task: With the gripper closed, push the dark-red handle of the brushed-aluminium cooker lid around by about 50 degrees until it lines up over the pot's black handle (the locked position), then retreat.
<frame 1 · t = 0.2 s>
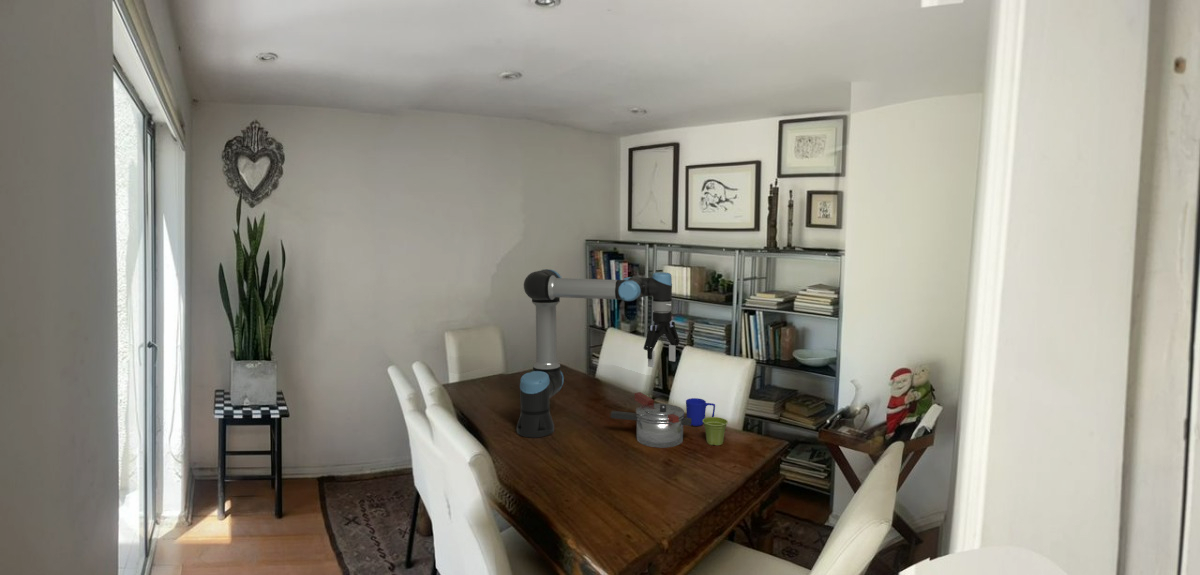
hand: (661, 363, 231), 28 cm above the table, fingers open, 13 cm apart
plant pot: (714, 443, 221), on the table
mug: (700, 424, 241), on the table
lid: (655, 405, 227), point 12 cm above the table, hinge at 50.0°
pot: (659, 438, 225), on the table
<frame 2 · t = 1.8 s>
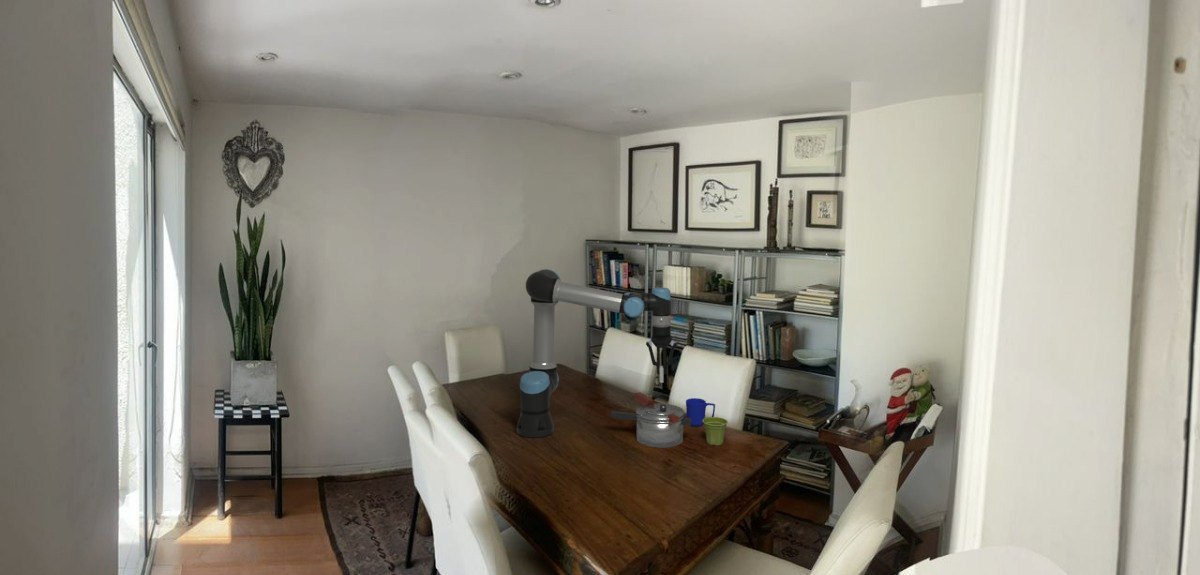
hand: (661, 381, 238), 19 cm above the table, fingers closed
nothing on the table moved.
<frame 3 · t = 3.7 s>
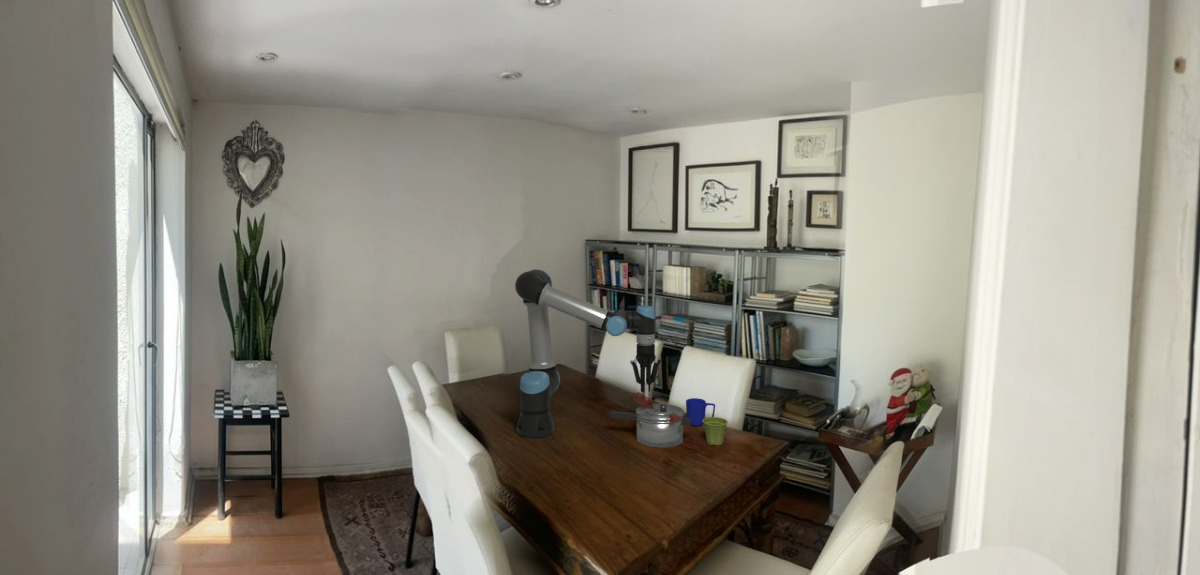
hand: (645, 399, 239), 11 cm above the table, fingers closed
lid: (655, 405, 227), point 12 cm above the table, hinge at 47.9°, touching gripper
everything else where it was.
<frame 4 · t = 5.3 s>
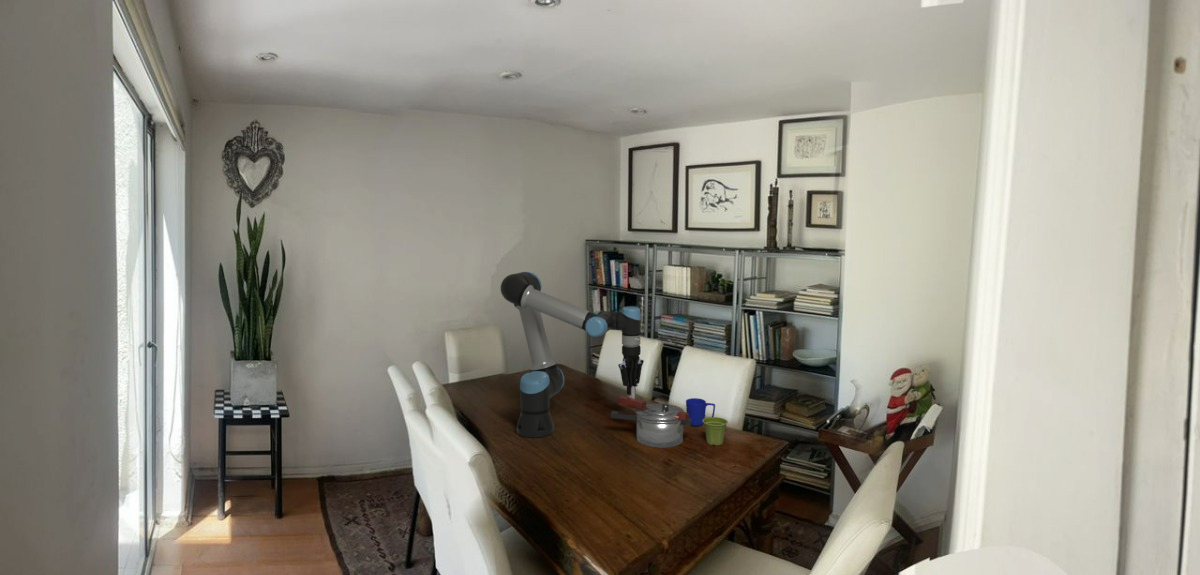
hand: (631, 401, 235), 11 cm above the table, fingers closed
lid: (652, 406, 226), point 12 cm above the table, hinge at 22.0°, touching gripper
everything else where it was.
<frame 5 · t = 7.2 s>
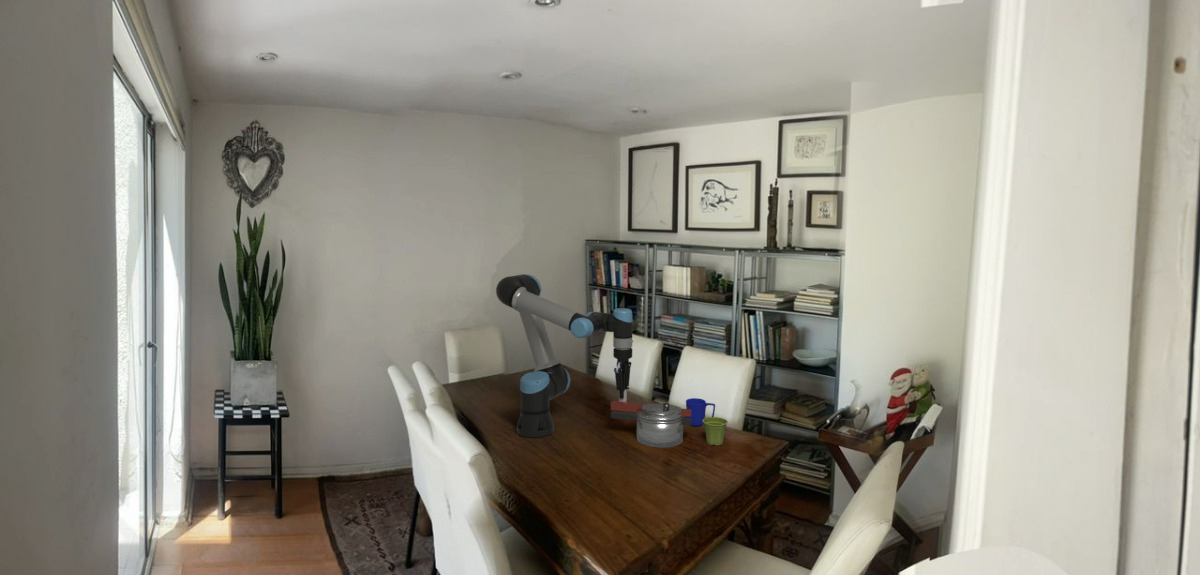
hand: (622, 405, 230), 11 cm above the table, fingers closed
lid: (650, 407, 225), point 12 cm above the table, hinge at -0.6°, touching gripper
everything else where it was.
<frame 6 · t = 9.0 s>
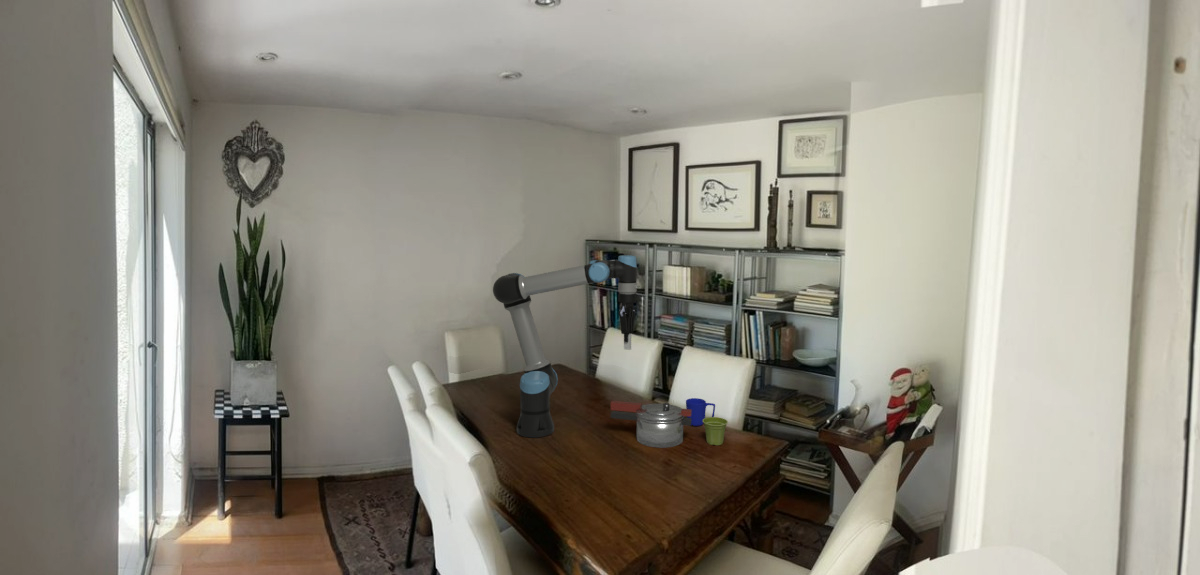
hand: (627, 349, 240), 32 cm above the table, fingers closed
lid: (650, 407, 225), point 12 cm above the table, hinge at -0.6°
everything else where it was.
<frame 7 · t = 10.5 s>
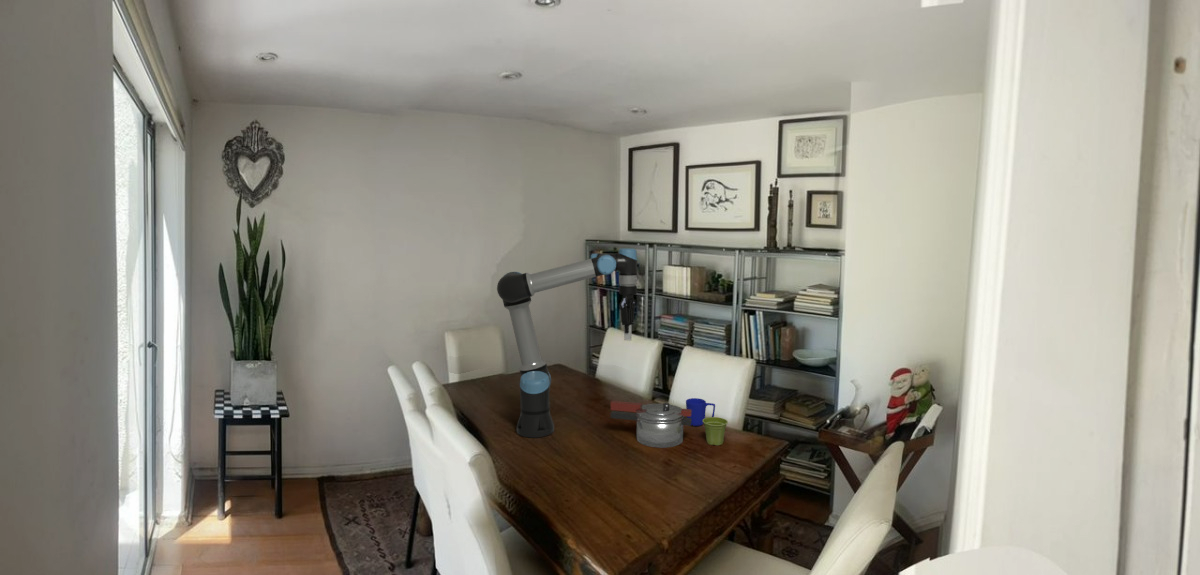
hand: (627, 340, 246), 34 cm above the table, fingers closed
nothing on the table moved.
at the end: lid at -1° (first picture: +50°) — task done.
